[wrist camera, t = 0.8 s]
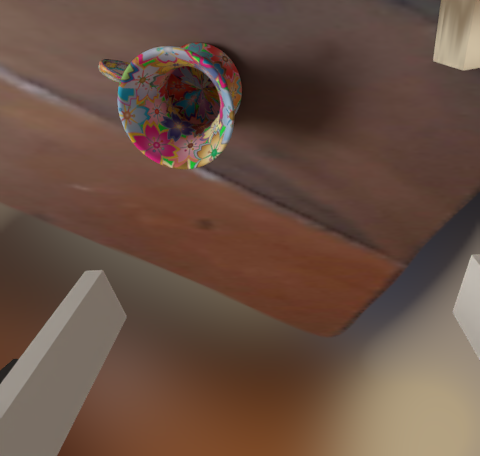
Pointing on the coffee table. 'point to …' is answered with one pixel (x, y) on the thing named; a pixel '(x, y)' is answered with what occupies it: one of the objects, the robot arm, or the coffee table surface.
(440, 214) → the coffee table surface
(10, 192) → the coffee table surface
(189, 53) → the mug
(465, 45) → the block
